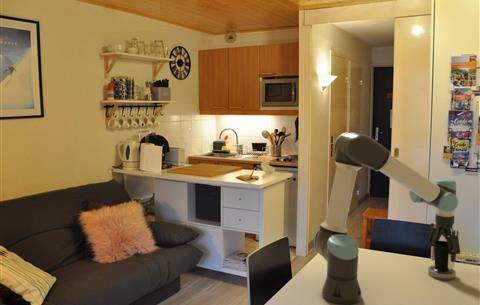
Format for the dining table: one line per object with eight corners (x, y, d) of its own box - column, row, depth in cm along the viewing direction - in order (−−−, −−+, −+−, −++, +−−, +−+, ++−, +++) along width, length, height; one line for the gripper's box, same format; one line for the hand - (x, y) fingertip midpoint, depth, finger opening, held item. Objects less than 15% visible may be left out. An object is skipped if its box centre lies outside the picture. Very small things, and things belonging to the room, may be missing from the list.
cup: (447, 266, 193) (448, 240, 191) (454, 273, 185) (455, 246, 184) (429, 266, 193) (430, 240, 192) (435, 272, 186) (437, 246, 184)
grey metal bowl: (440, 281, 183) (440, 275, 182) (422, 272, 193) (422, 266, 193) (461, 278, 186) (461, 272, 186) (442, 269, 196) (442, 263, 196)
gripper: (472, 220, 177) (469, 272, 179) (433, 208, 198) (431, 254, 200) (457, 222, 175) (454, 274, 177) (420, 209, 196) (417, 256, 198)
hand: (442, 264), depth 189 cm, fingers open, 9 cm apart
